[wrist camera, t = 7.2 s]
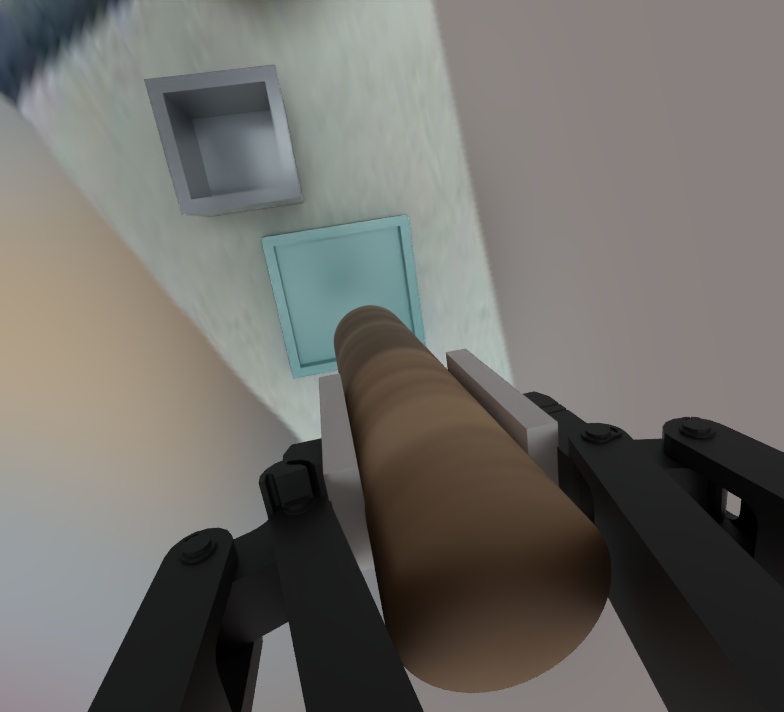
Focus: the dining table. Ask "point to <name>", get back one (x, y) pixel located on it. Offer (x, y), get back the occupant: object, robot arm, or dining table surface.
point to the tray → (340, 284)
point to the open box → (226, 140)
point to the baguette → (461, 521)
